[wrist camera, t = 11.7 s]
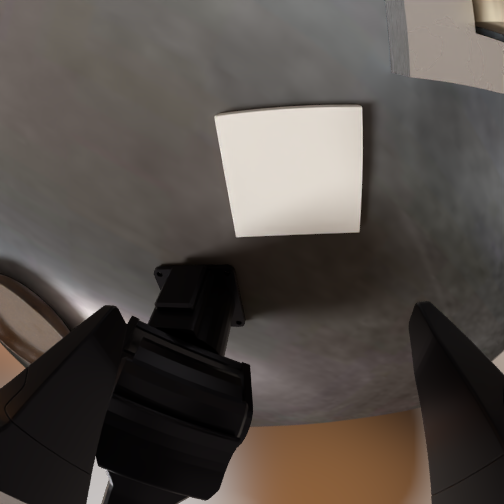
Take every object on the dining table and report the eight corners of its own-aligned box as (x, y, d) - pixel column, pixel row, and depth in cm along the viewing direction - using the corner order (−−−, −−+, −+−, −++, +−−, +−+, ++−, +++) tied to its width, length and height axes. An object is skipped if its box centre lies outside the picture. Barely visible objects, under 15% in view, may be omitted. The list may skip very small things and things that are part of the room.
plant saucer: (115, 371, 37) (107, 390, 35) (31, 354, 41) (23, 368, 39) (31, 252, 26) (14, 273, 23) (-36, 263, 30) (-48, 277, 27)
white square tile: (357, 225, 20) (359, 232, 19) (238, 230, 21) (236, 237, 20) (359, 104, 15) (362, 106, 14) (217, 113, 16) (214, 116, 16)
